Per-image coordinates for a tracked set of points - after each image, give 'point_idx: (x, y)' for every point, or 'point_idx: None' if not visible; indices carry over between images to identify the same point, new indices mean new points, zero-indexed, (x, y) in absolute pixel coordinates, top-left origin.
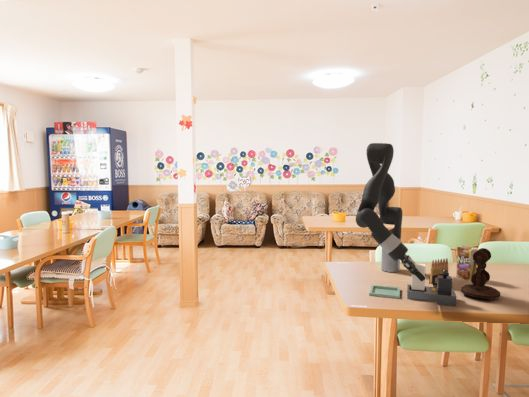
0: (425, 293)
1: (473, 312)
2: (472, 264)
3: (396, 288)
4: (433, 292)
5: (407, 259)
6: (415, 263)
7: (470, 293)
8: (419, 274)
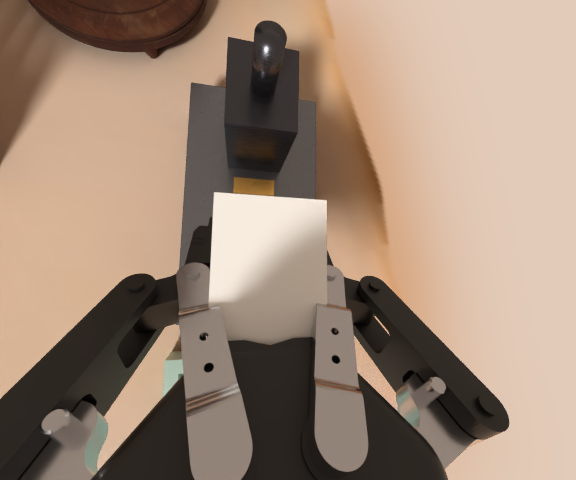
0: None
1: (344, 85)
2: None
3: (179, 377)
4: (287, 193)
5: (406, 453)
6: (212, 304)
7: (183, 22)
8: (329, 262)
